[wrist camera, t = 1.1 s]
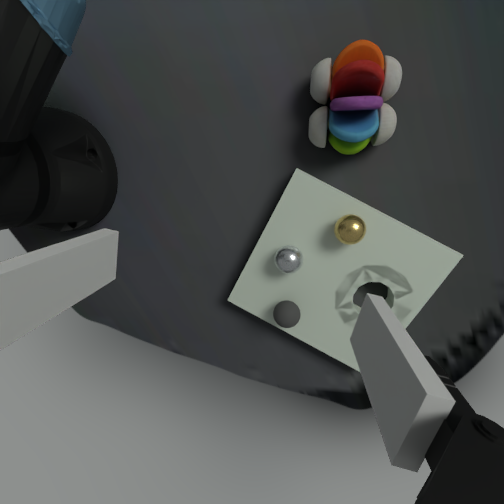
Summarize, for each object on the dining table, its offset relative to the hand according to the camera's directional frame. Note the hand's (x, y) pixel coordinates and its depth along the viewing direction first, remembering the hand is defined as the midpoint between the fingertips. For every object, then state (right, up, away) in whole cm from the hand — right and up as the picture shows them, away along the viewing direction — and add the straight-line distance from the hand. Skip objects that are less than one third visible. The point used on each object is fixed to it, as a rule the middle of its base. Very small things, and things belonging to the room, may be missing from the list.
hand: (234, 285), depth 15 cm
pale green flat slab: (+11, -1, +21) cm, 24 cm away
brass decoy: (+11, +4, +15) cm, 19 cm away
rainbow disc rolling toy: (+11, +17, +16) cm, 26 cm away
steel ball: (+5, +1, +17) cm, 18 cm away
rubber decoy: (+5, -6, +19) cm, 20 cm away
